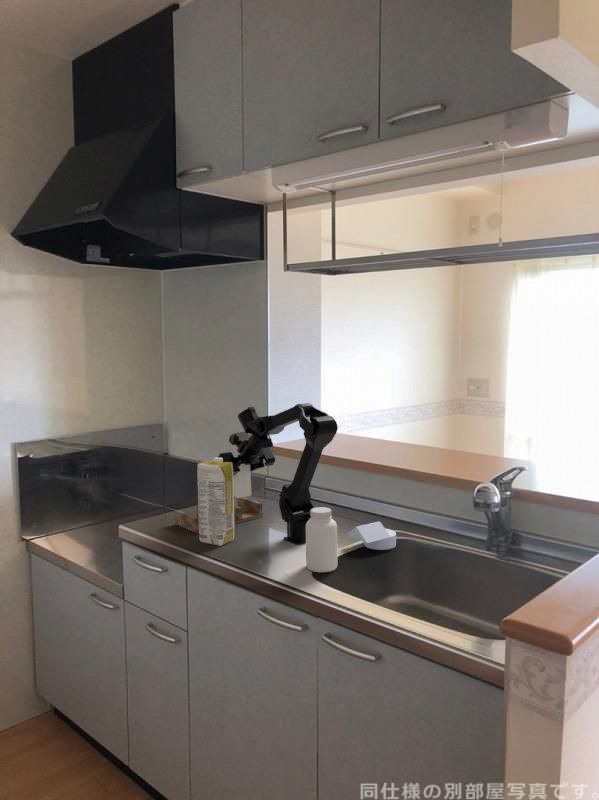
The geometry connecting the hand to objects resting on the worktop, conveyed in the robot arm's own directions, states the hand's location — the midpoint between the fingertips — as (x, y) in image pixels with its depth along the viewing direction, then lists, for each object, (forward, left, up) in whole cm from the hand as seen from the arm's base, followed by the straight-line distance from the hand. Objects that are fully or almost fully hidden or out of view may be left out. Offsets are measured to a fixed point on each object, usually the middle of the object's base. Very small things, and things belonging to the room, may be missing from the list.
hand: (237, 474), depth 209 cm
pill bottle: (-52, +12, -14) cm, 56 cm away
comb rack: (-1, +8, -13) cm, 16 cm away
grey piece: (-2, 0, -7) cm, 7 cm away
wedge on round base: (-50, -10, -14) cm, 53 cm away
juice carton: (-17, +20, -14) cm, 30 cm away
